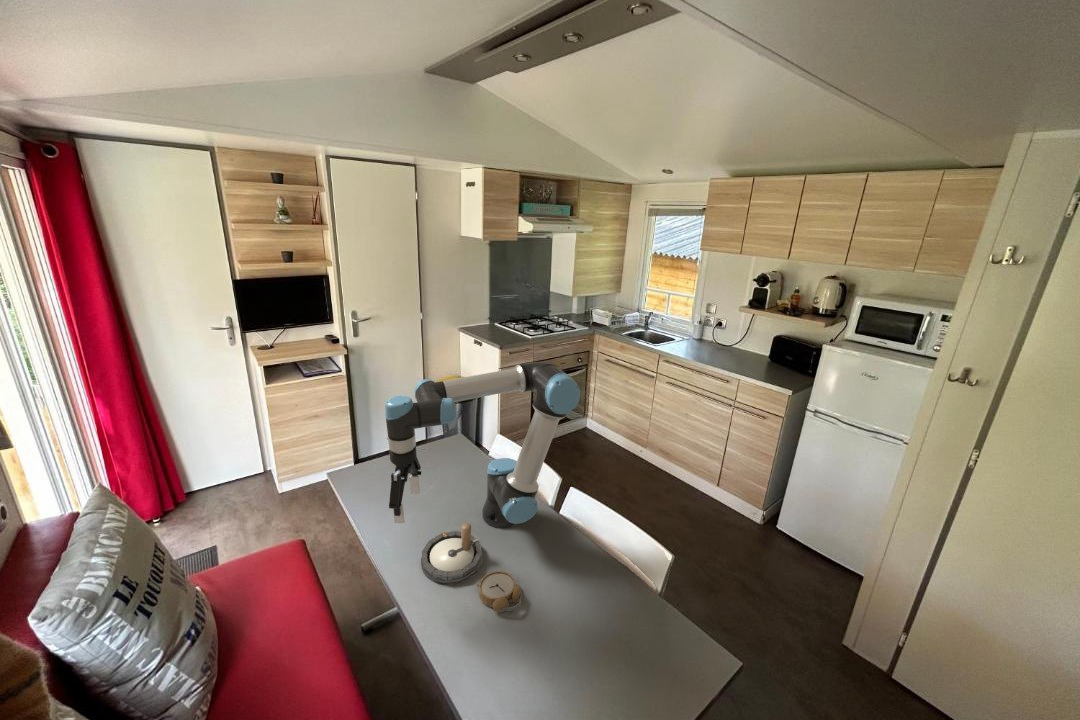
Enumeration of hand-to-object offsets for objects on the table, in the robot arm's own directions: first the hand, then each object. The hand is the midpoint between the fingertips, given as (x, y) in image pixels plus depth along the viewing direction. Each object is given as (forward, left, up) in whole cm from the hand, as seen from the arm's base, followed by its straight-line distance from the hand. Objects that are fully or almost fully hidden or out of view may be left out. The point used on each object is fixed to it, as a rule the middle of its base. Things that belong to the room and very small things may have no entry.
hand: (407, 507), depth 135 cm
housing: (-13, +1, -23) cm, 26 cm away
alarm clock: (-26, +19, -23) cm, 40 cm away
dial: (-13, +1, -21) cm, 25 cm away
